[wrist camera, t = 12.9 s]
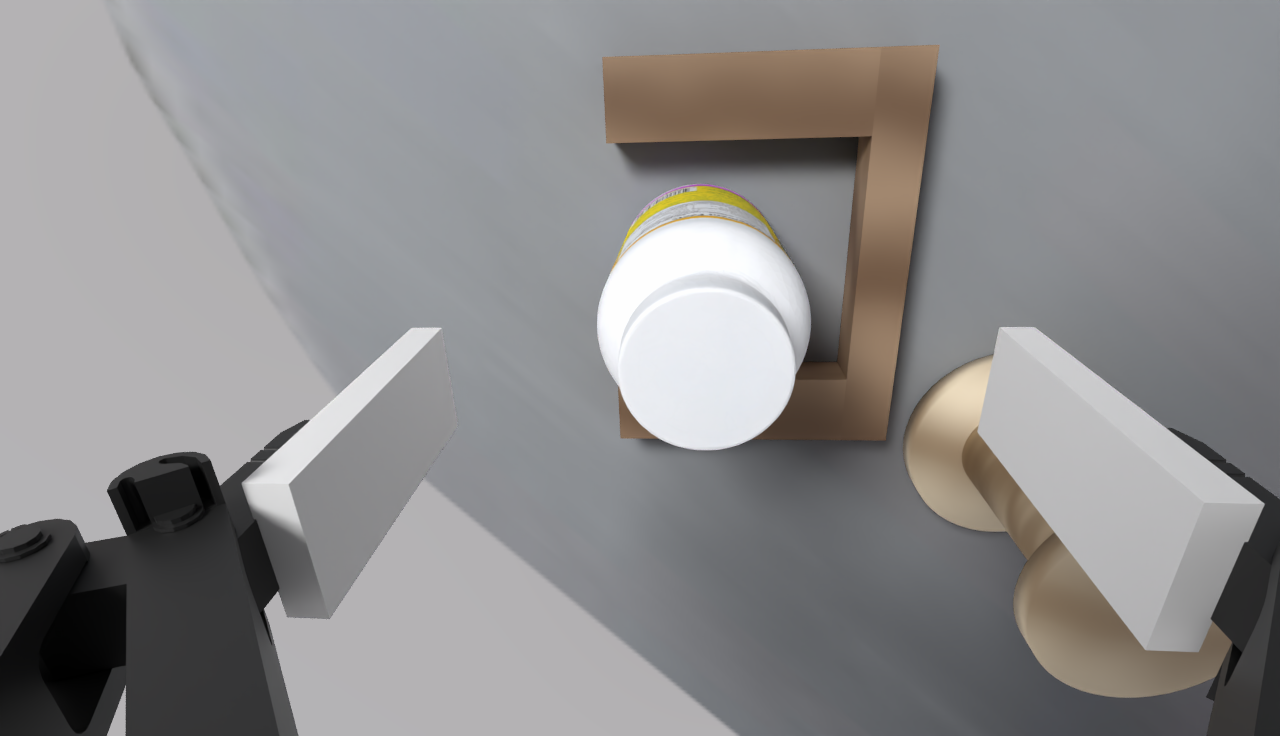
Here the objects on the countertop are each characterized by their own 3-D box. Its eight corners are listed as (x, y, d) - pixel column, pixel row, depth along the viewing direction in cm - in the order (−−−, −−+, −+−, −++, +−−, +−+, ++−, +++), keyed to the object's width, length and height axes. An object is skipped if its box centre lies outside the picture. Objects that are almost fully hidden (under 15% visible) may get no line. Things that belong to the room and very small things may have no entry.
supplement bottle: (743, 347, 30) (776, 513, 18) (606, 304, 30) (551, 446, 18) (799, 207, 28) (880, 297, 16) (650, 158, 27) (618, 213, 15)
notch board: (608, 59, 26) (602, 57, 24) (921, 47, 25) (939, 44, 23) (624, 418, 32) (620, 438, 30) (874, 419, 31) (885, 440, 29)
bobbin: (916, 351, 30) (1035, 492, 19) (1124, 351, 29) (1362, 496, 19) (892, 515, 33) (982, 706, 23) (1077, 518, 33) (1254, 717, 22)
